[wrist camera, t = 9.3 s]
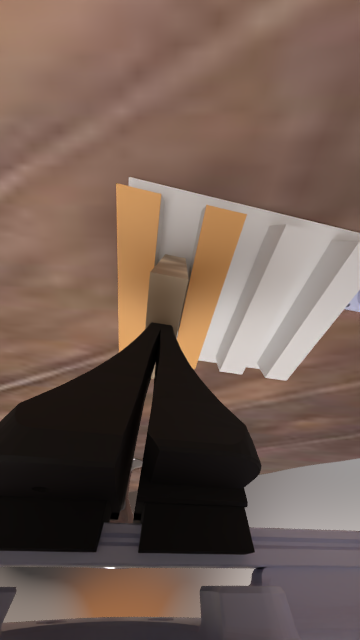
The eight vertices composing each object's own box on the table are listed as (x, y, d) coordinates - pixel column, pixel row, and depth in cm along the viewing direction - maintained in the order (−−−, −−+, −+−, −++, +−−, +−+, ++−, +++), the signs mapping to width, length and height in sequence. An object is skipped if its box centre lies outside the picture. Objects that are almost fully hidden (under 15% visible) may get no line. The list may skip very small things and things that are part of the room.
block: (185, 258, 15) (188, 279, 8) (172, 326, 19) (166, 380, 12) (165, 254, 15) (150, 272, 8) (156, 323, 19) (140, 377, 12)
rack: (361, 235, 14) (406, 235, 11) (270, 367, 23) (283, 386, 20) (130, 179, 12) (115, 162, 9) (127, 346, 21) (119, 364, 18)
